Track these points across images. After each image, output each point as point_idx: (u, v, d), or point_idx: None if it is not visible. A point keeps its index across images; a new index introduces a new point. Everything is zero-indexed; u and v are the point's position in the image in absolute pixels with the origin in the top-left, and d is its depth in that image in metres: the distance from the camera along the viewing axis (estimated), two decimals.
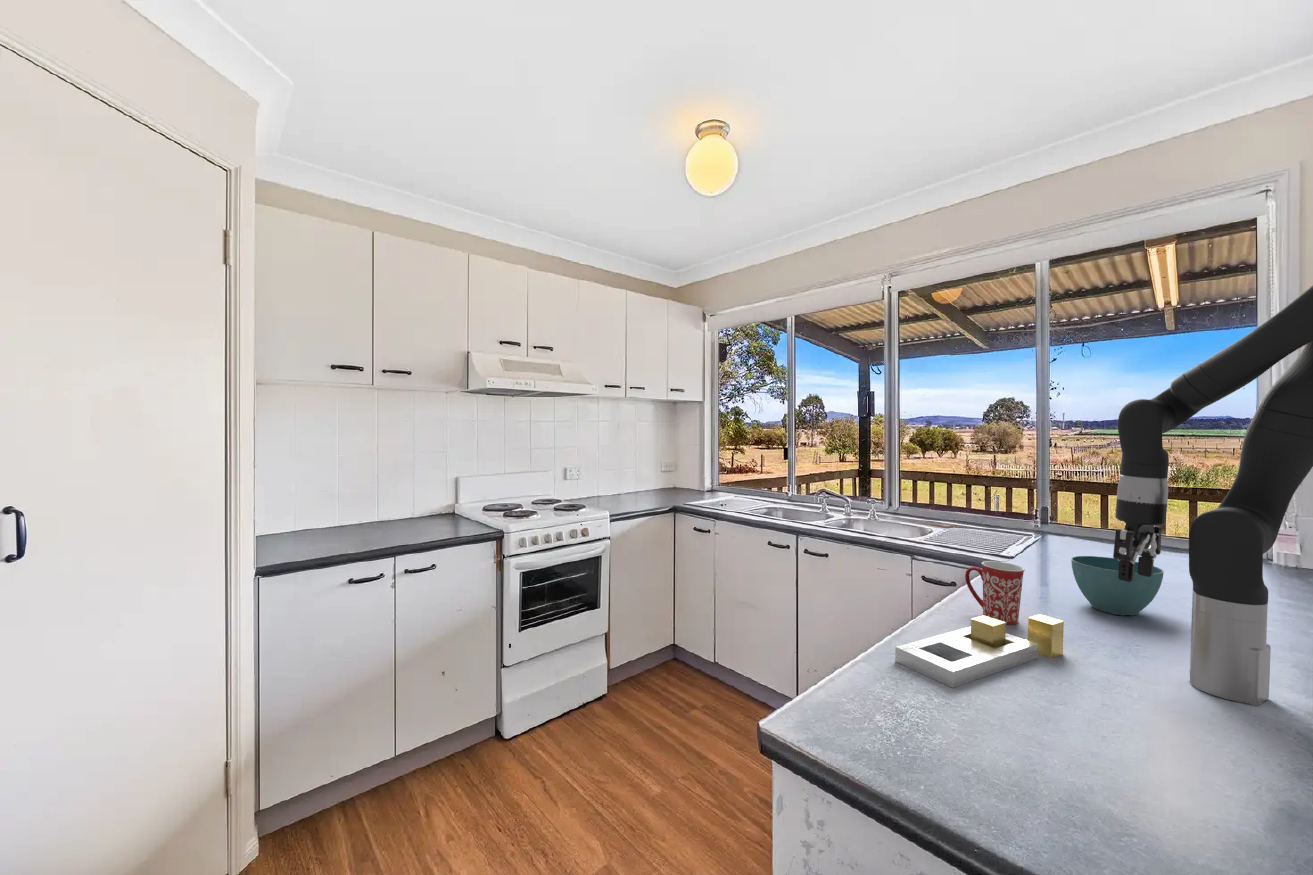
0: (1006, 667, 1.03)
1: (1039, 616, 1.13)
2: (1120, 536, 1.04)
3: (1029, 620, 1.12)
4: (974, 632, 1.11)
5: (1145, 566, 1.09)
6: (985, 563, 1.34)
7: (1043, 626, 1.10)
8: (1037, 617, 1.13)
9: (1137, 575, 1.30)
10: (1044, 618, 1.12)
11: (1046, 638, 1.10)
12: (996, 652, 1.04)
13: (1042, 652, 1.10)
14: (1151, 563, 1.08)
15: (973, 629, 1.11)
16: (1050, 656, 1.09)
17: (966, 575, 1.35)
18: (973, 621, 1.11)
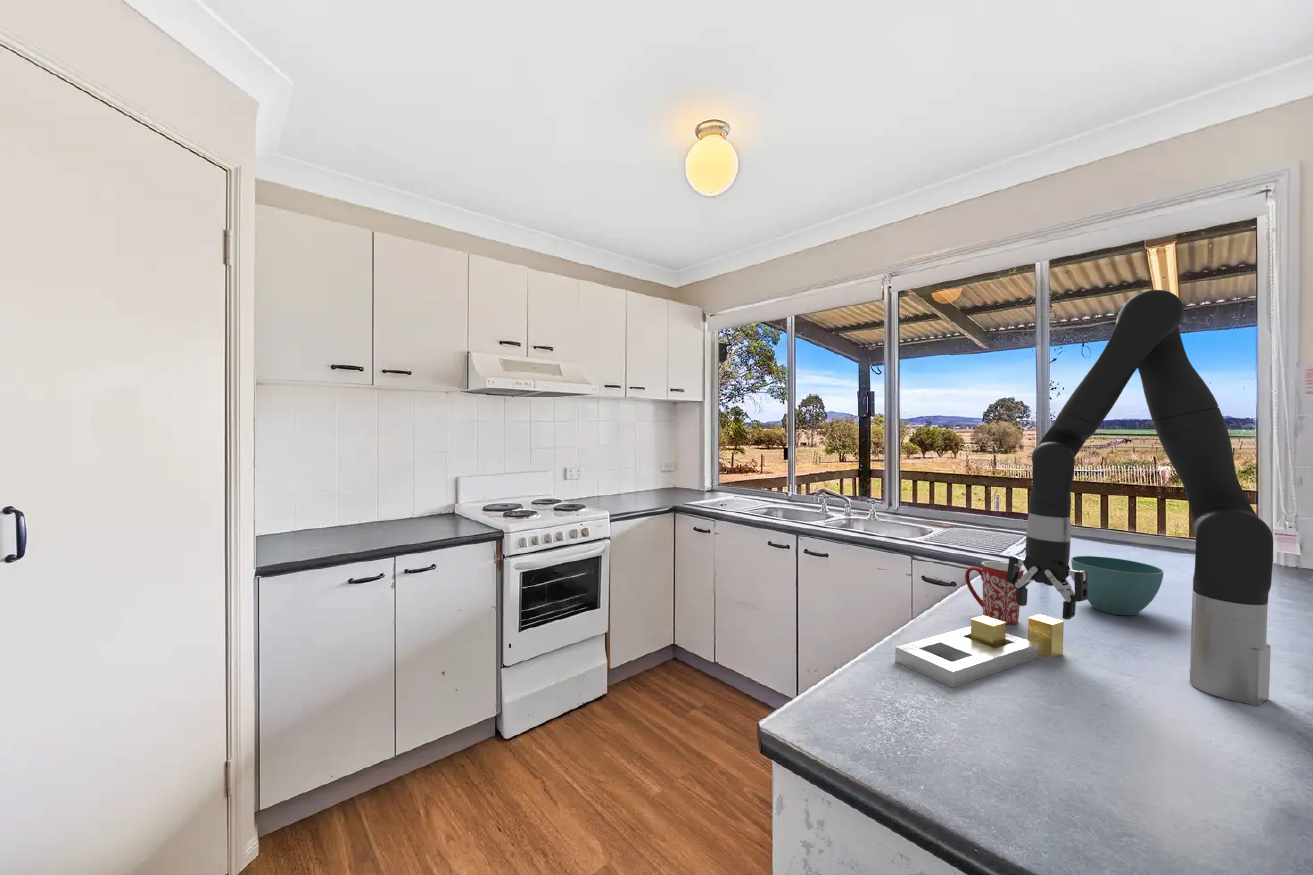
0: (1006, 667, 1.03)
1: (1039, 616, 1.13)
2: (1083, 578, 1.05)
3: (1029, 620, 1.12)
4: (974, 632, 1.11)
5: (1024, 597, 1.15)
6: (985, 563, 1.34)
7: (1043, 626, 1.10)
8: (1037, 617, 1.13)
9: (1137, 575, 1.30)
10: (1044, 618, 1.12)
11: (1046, 638, 1.10)
12: (996, 652, 1.04)
13: (1042, 652, 1.10)
14: None
15: (973, 629, 1.11)
16: (1050, 656, 1.09)
17: (966, 575, 1.35)
18: (973, 621, 1.11)
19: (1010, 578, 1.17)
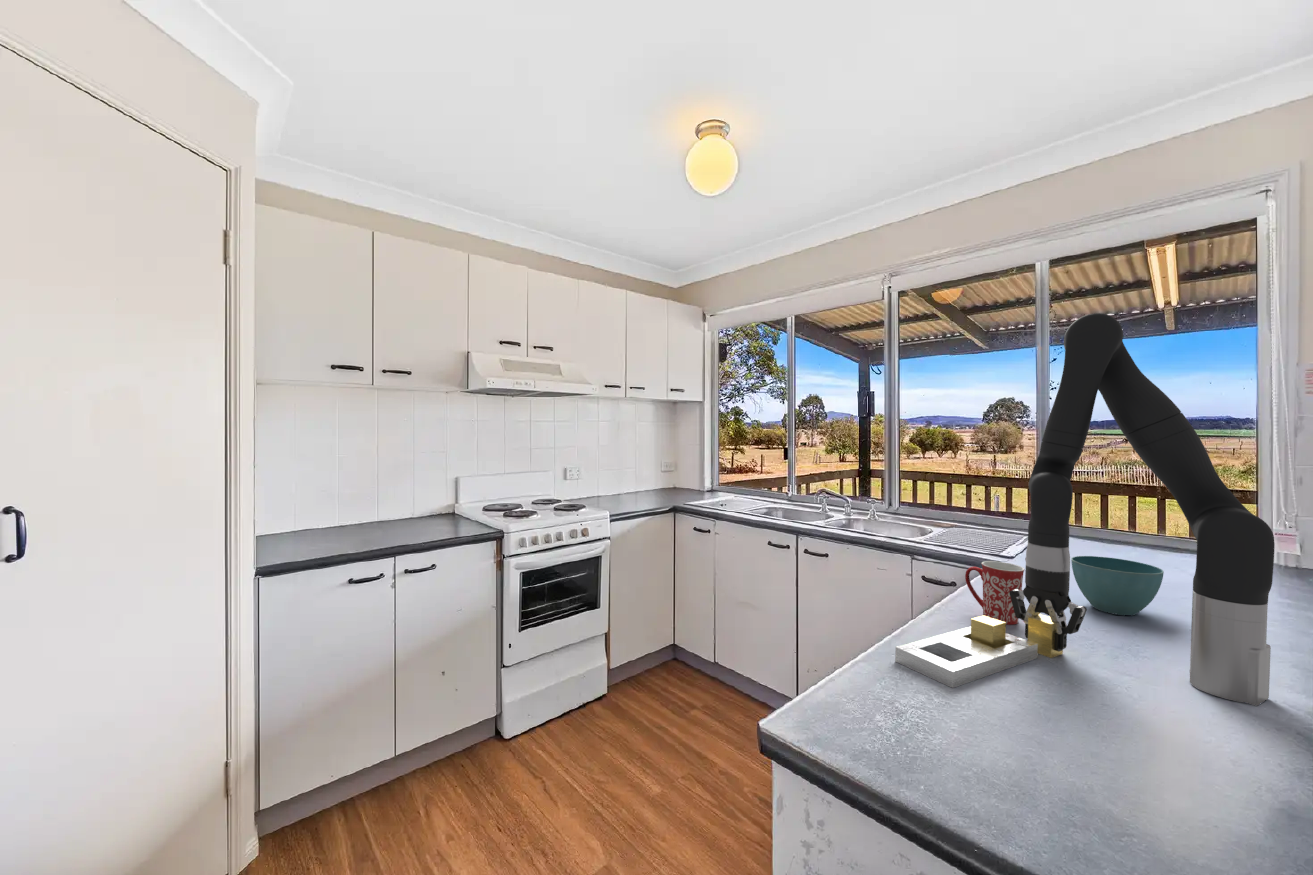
0: (1006, 667, 1.03)
1: (1039, 616, 1.13)
2: (1081, 614, 1.06)
3: (1029, 620, 1.12)
4: (974, 632, 1.11)
5: None
6: (985, 563, 1.34)
7: (1043, 626, 1.10)
8: (1037, 616, 1.13)
9: (1137, 575, 1.30)
10: (1044, 618, 1.12)
11: (1046, 638, 1.10)
12: (996, 652, 1.04)
13: (1042, 652, 1.10)
14: None
15: (973, 629, 1.11)
16: (1050, 656, 1.09)
17: (966, 575, 1.35)
18: (973, 621, 1.11)
19: (1019, 614, 1.15)
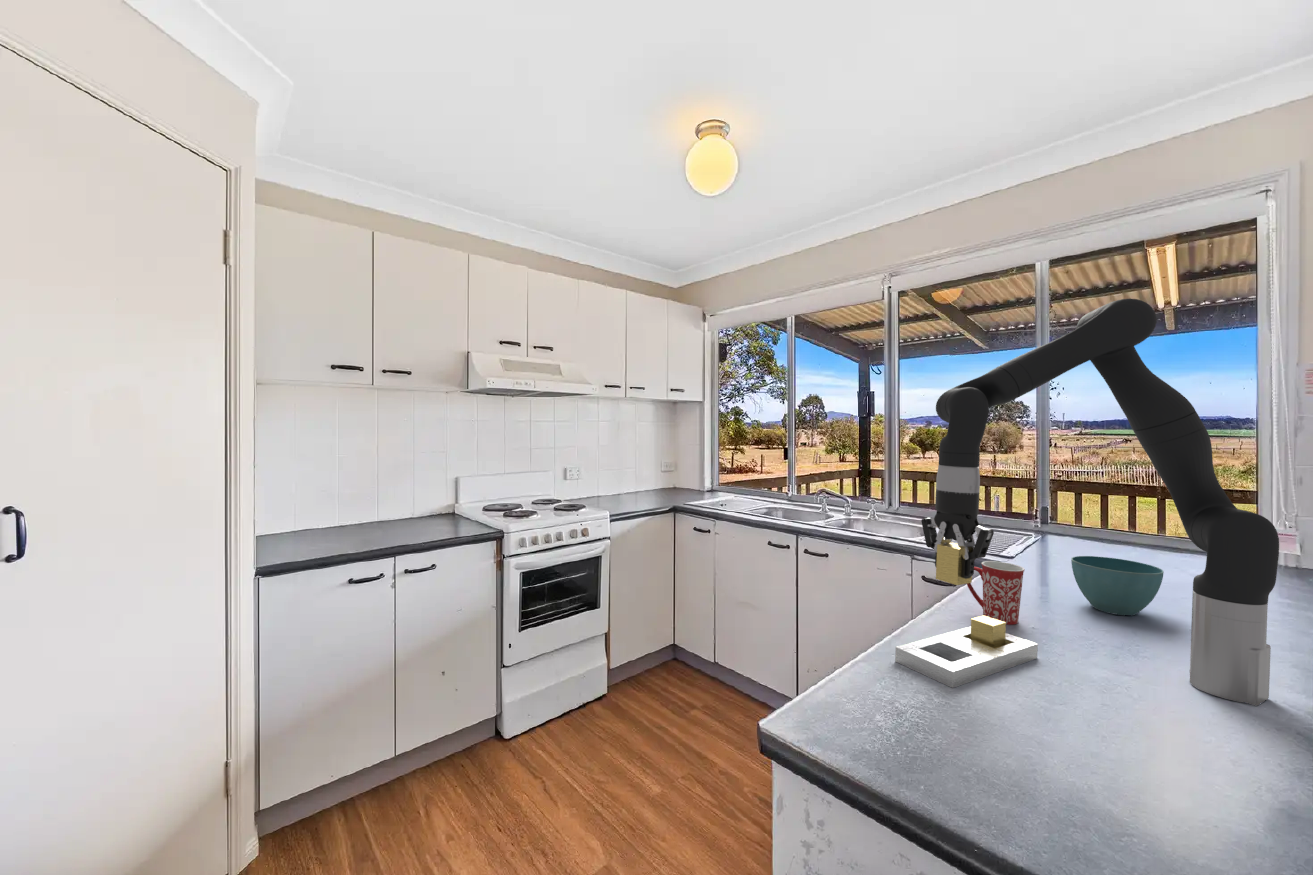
0: (1006, 667, 1.03)
1: (949, 544, 1.07)
2: (987, 537, 0.99)
3: (938, 547, 1.06)
4: (974, 632, 1.11)
5: None
6: (985, 563, 1.34)
7: (950, 552, 1.03)
8: (946, 544, 1.06)
9: (1137, 575, 1.30)
10: (954, 545, 1.05)
11: (952, 564, 1.03)
12: (996, 652, 1.04)
13: (949, 580, 1.04)
14: None
15: (973, 629, 1.11)
16: (956, 583, 1.02)
17: None
18: (973, 621, 1.11)
19: (929, 542, 1.08)
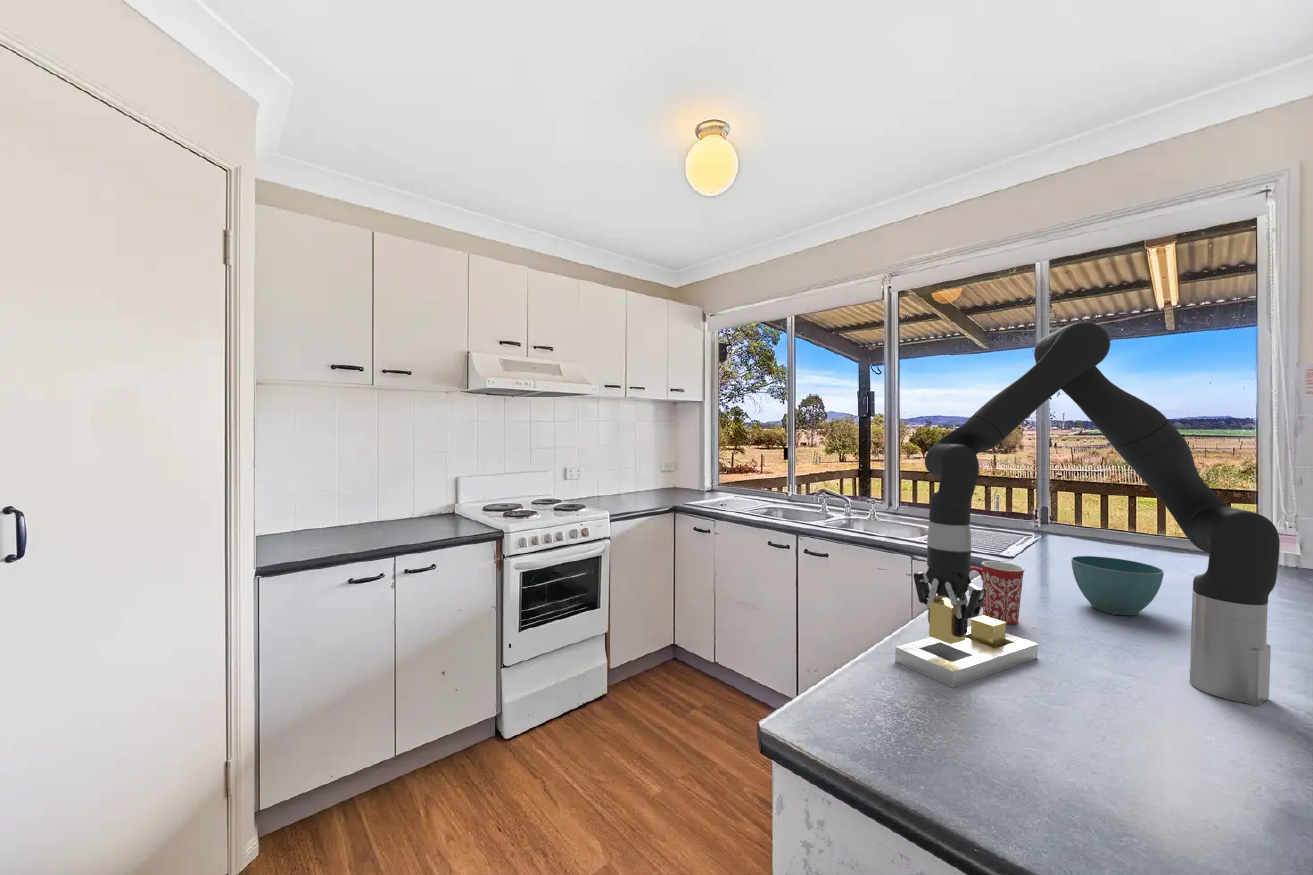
0: (1006, 667, 1.03)
1: (942, 600, 1.05)
2: (980, 597, 0.98)
3: (930, 604, 1.05)
4: (974, 632, 1.11)
5: None
6: (985, 563, 1.34)
7: (943, 610, 1.02)
8: (939, 600, 1.05)
9: (1137, 575, 1.30)
10: (946, 602, 1.04)
11: (946, 623, 1.02)
12: (996, 652, 1.04)
13: (942, 638, 1.02)
14: None
15: (973, 629, 1.11)
16: (950, 642, 1.01)
17: None
18: (973, 621, 1.11)
19: (922, 598, 1.07)
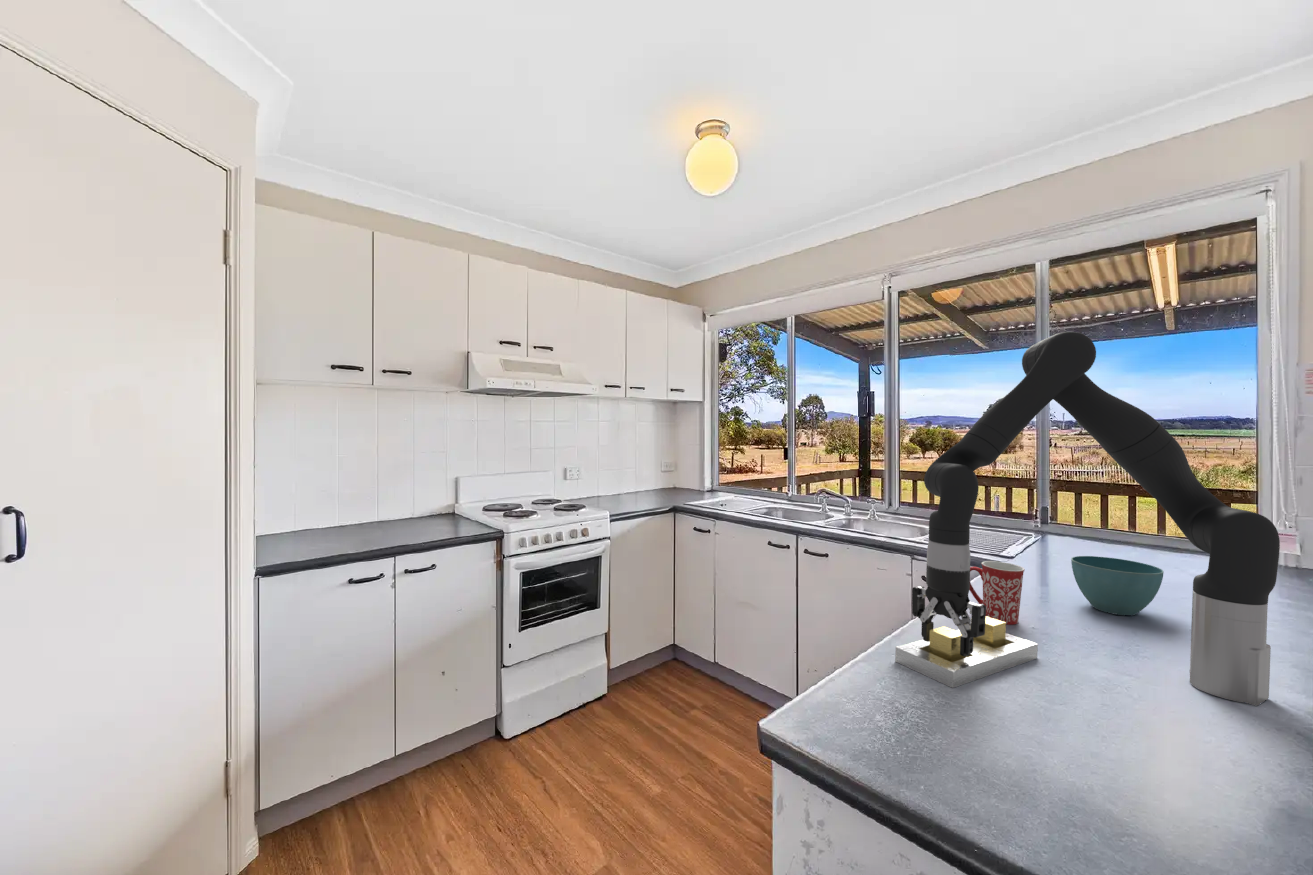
0: (1006, 667, 1.03)
1: (942, 628, 1.05)
2: (981, 613, 0.98)
3: (930, 633, 1.05)
4: None
5: None
6: (985, 563, 1.34)
7: (943, 640, 1.02)
8: (939, 629, 1.05)
9: (1137, 575, 1.30)
10: (946, 631, 1.04)
11: (945, 652, 1.02)
12: (996, 652, 1.04)
13: None
14: (932, 626, 1.08)
15: None
16: None
17: None
18: None
19: (915, 611, 1.09)
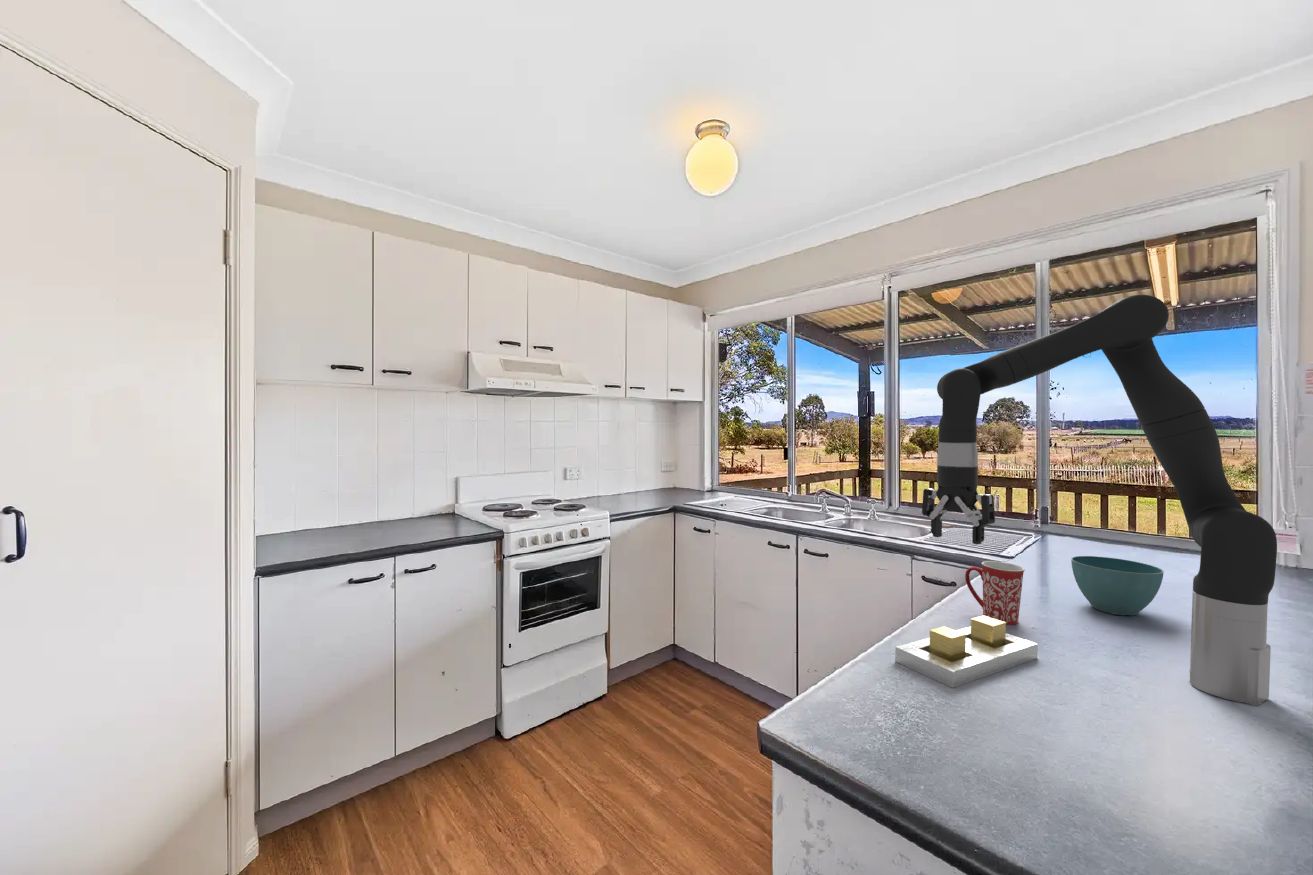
0: (1006, 667, 1.03)
1: (942, 628, 1.06)
2: (989, 501, 1.06)
3: (930, 633, 1.05)
4: (974, 632, 1.11)
5: (939, 528, 1.16)
6: (985, 563, 1.34)
7: (943, 640, 1.02)
8: (939, 629, 1.05)
9: (1137, 575, 1.30)
10: (946, 631, 1.04)
11: (945, 652, 1.02)
12: (996, 652, 1.04)
13: None
14: None
15: (973, 629, 1.11)
16: None
17: (966, 575, 1.35)
18: (973, 621, 1.11)
19: (925, 510, 1.17)
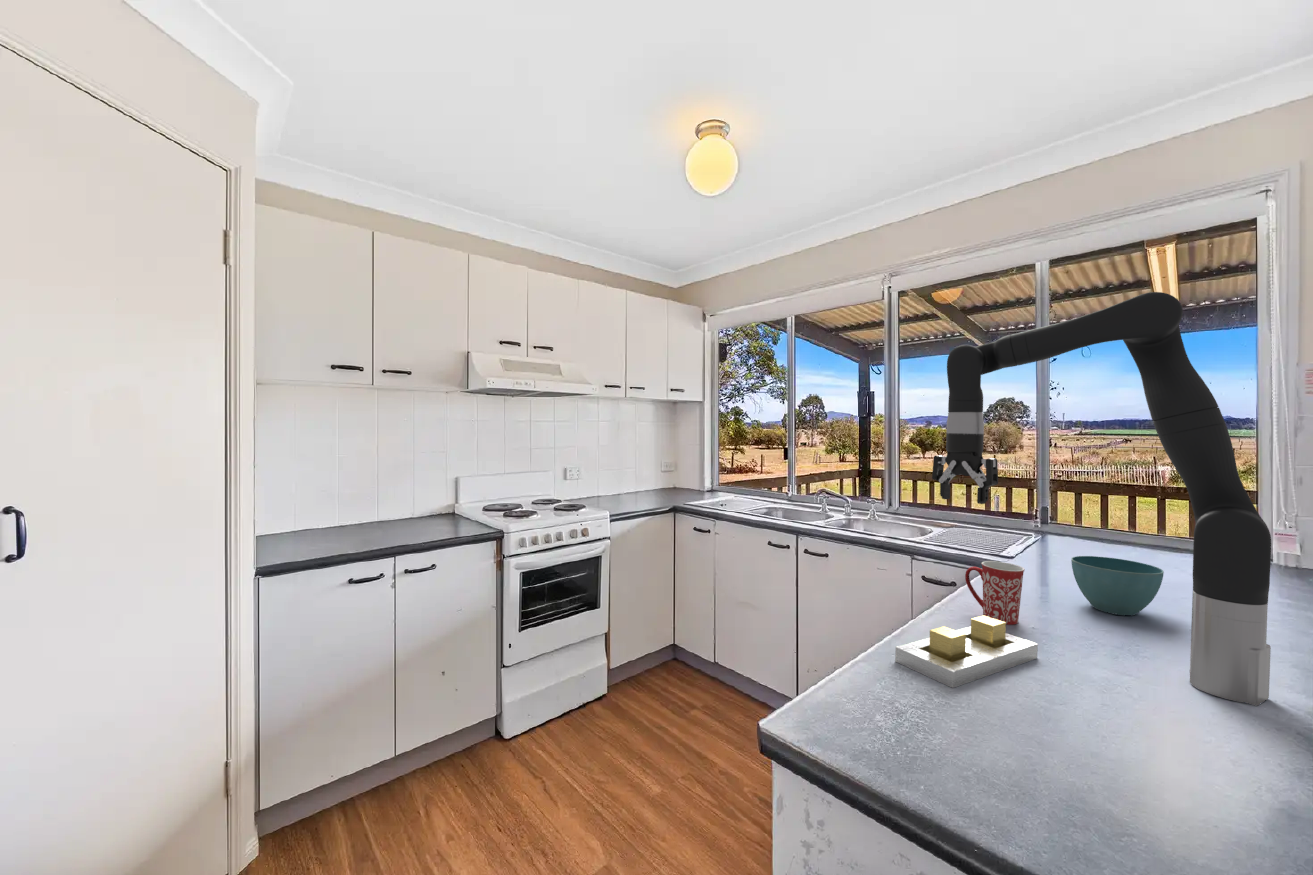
0: (1006, 667, 1.03)
1: (942, 628, 1.05)
2: (993, 464, 1.17)
3: (930, 633, 1.05)
4: (974, 632, 1.11)
5: (947, 491, 1.27)
6: (985, 563, 1.34)
7: (943, 640, 1.02)
8: (939, 629, 1.05)
9: (1137, 575, 1.30)
10: (946, 631, 1.04)
11: (945, 652, 1.02)
12: (996, 652, 1.04)
13: None
14: None
15: (973, 629, 1.11)
16: None
17: (966, 575, 1.35)
18: (973, 621, 1.11)
19: (935, 475, 1.28)
